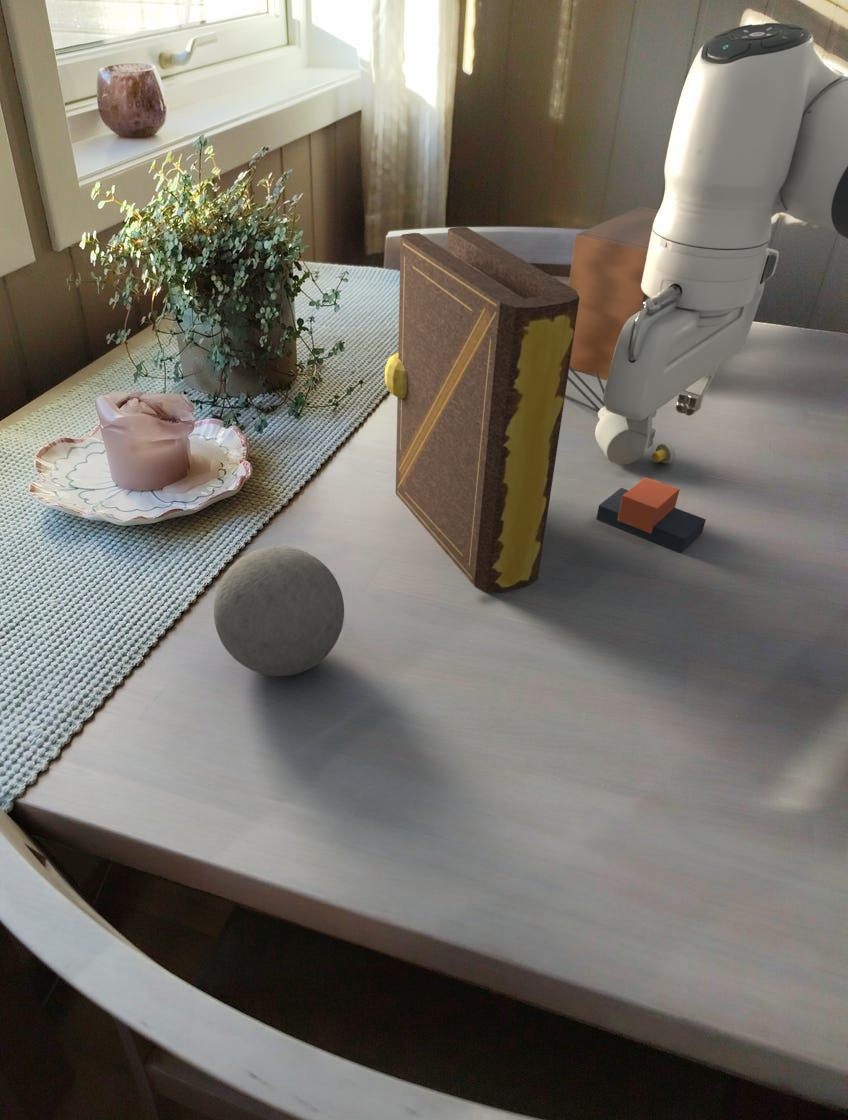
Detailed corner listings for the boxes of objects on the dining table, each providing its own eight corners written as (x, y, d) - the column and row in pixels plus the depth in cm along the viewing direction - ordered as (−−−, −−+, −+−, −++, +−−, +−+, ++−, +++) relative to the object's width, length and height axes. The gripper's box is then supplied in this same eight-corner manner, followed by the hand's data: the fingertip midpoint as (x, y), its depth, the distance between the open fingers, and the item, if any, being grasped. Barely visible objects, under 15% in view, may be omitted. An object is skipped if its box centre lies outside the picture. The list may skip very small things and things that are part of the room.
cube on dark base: (702, 532, 86) (711, 500, 84) (680, 553, 83) (689, 520, 81) (618, 500, 90) (625, 469, 88) (595, 519, 88) (601, 487, 85)
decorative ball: (201, 689, 69) (183, 586, 63) (248, 612, 77) (236, 512, 70) (323, 713, 67) (318, 609, 61) (359, 632, 75) (358, 531, 68)
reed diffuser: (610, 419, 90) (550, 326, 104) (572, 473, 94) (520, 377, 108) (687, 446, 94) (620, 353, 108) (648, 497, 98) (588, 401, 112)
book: (556, 577, 80) (603, 296, 64) (472, 600, 78) (499, 313, 62) (446, 465, 96) (462, 216, 80) (374, 481, 94) (374, 227, 77)
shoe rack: (684, 347, 120) (714, 220, 110) (626, 386, 111) (652, 251, 101) (618, 329, 125) (640, 205, 115) (557, 364, 116) (575, 234, 106)
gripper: (678, 316, 64) (639, 485, 73) (788, 250, 76) (743, 402, 85) (600, 295, 67) (572, 460, 76) (717, 235, 79) (681, 383, 88)
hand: (663, 429), depth 81 cm, fingers open, 8 cm apart
